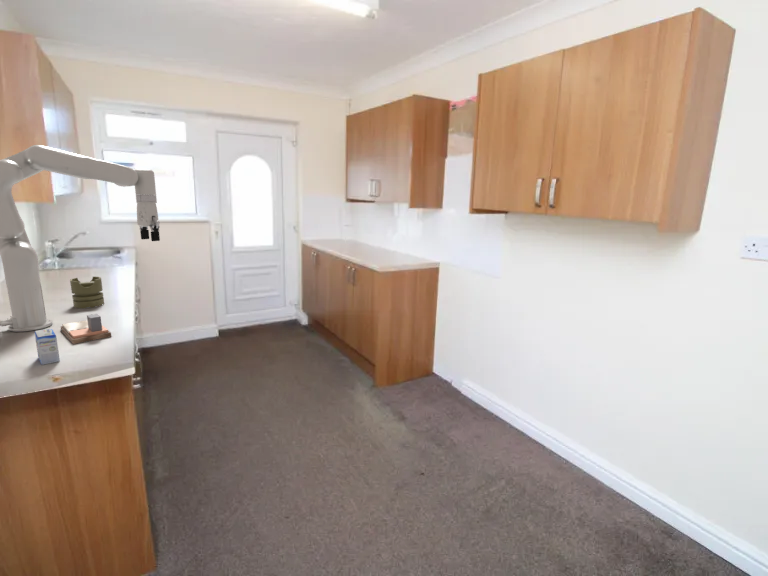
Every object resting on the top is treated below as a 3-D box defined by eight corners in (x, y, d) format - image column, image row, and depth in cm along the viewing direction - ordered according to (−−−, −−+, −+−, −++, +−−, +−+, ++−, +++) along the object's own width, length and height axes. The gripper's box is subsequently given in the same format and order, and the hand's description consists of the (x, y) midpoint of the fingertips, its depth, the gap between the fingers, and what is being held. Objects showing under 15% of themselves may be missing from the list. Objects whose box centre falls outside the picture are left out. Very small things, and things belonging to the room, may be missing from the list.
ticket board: (73, 344, 138) (72, 337, 138) (61, 330, 152) (60, 324, 151) (111, 336, 146) (110, 330, 146) (96, 324, 159) (95, 318, 159)
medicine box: (38, 357, 126) (33, 330, 125) (56, 354, 129) (52, 327, 128) (41, 365, 121) (36, 337, 119) (60, 361, 124) (56, 334, 122)
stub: (73, 338, 139) (71, 322, 138) (69, 333, 144) (66, 317, 142) (108, 332, 146) (106, 316, 145) (102, 327, 151) (100, 312, 150)
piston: (69, 278, 185) (99, 275, 192) (73, 304, 187) (103, 300, 194) (70, 282, 176) (102, 279, 183) (74, 309, 179) (105, 305, 185)
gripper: (128, 198, 176) (132, 239, 180) (146, 199, 166) (150, 242, 170) (146, 199, 182) (150, 238, 186) (165, 199, 172) (169, 241, 176)
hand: (150, 240), depth 178 cm, fingers open, 9 cm apart
